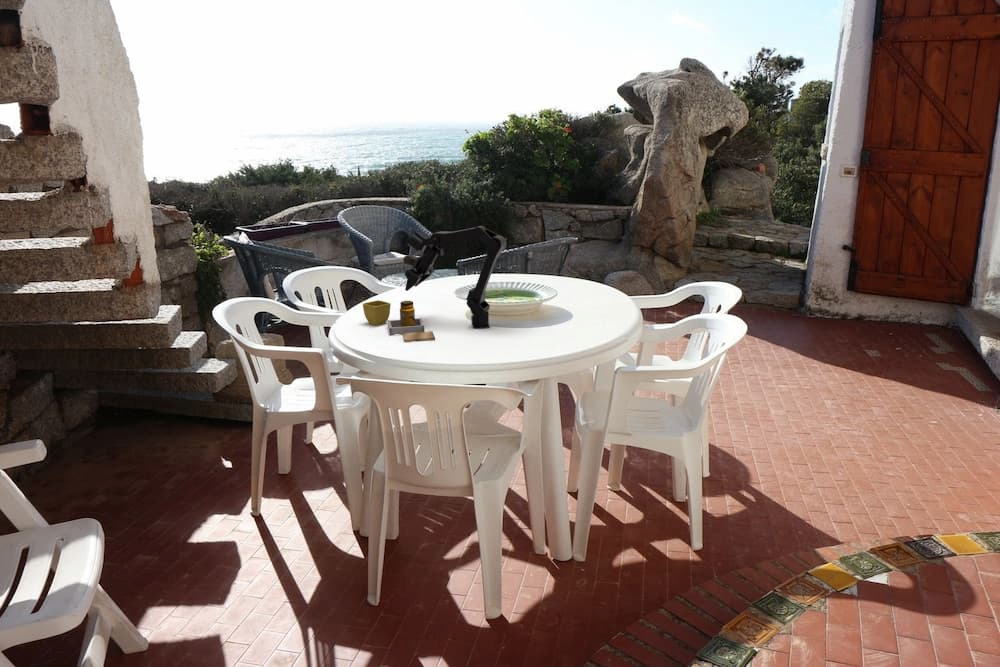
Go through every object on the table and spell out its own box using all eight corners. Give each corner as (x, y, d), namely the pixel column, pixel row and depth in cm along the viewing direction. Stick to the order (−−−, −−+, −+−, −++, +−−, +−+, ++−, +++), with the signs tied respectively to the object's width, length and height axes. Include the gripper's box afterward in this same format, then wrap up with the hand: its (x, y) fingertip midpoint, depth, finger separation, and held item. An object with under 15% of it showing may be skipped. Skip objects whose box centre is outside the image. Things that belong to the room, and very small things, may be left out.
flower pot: (392, 323, 314) (391, 302, 312) (375, 327, 308) (374, 306, 305) (379, 320, 320) (378, 299, 317) (363, 324, 314) (361, 303, 311)
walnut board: (432, 333, 297) (432, 331, 297) (435, 340, 287) (435, 337, 287) (402, 335, 295) (402, 333, 294) (404, 342, 285) (404, 339, 285)
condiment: (419, 330, 302) (417, 302, 299) (400, 333, 297) (399, 305, 294) (411, 326, 308) (409, 299, 305) (392, 330, 303) (391, 301, 300)
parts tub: (421, 325, 310) (421, 318, 309) (424, 333, 298) (424, 325, 297) (388, 327, 307) (387, 320, 307) (389, 335, 295) (389, 328, 294)
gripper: (420, 244, 315) (404, 273, 321) (403, 250, 298) (385, 281, 304) (441, 258, 314) (424, 287, 320) (425, 266, 297) (407, 297, 303)
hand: (410, 288), depth 311 cm, fingers open, 9 cm apart
